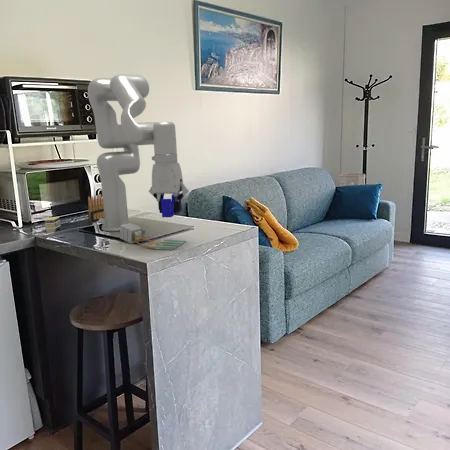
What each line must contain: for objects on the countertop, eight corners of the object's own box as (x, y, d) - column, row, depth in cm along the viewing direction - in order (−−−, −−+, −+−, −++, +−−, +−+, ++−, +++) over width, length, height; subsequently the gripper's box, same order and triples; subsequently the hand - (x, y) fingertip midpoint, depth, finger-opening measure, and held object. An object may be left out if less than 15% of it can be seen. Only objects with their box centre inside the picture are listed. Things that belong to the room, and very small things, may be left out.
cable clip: (170, 210, 164) (168, 194, 163) (182, 210, 163) (180, 194, 162) (157, 217, 153) (156, 199, 151) (170, 217, 152) (169, 199, 150)
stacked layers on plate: (61, 233, 188) (60, 220, 187) (39, 234, 187) (37, 221, 186) (66, 228, 198) (64, 215, 197) (44, 229, 197) (43, 217, 195)
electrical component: (172, 254, 158) (173, 241, 157) (159, 258, 154) (159, 244, 152) (130, 234, 173) (130, 221, 171) (116, 237, 169) (116, 224, 167)
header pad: (146, 248, 157) (146, 247, 157) (163, 240, 168) (163, 239, 168) (171, 250, 154) (171, 249, 153) (186, 241, 164) (186, 240, 164)
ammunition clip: (105, 218, 215) (103, 193, 212) (108, 218, 214) (106, 193, 211) (88, 222, 206) (85, 196, 203) (91, 223, 205) (88, 196, 202)
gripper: (138, 160, 153) (142, 214, 157) (184, 159, 147) (187, 215, 151) (149, 159, 160) (153, 210, 164) (193, 158, 154) (197, 211, 158)
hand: (169, 212), depth 157 cm, fingers closed on cable clip, 5 cm apart
